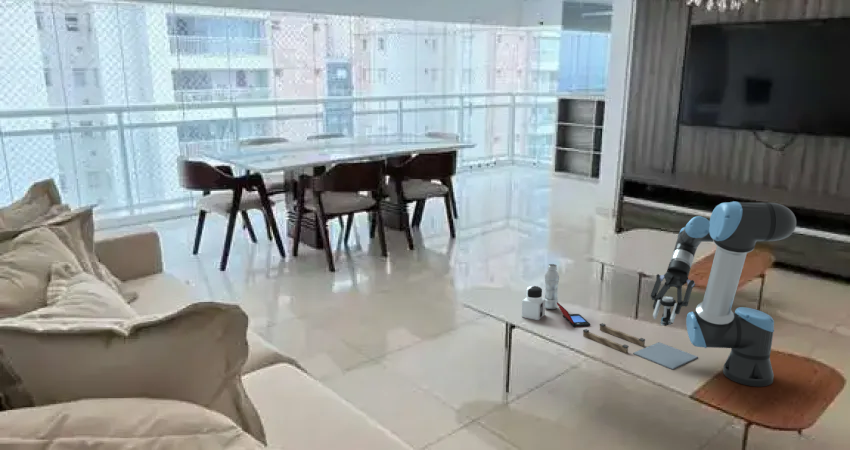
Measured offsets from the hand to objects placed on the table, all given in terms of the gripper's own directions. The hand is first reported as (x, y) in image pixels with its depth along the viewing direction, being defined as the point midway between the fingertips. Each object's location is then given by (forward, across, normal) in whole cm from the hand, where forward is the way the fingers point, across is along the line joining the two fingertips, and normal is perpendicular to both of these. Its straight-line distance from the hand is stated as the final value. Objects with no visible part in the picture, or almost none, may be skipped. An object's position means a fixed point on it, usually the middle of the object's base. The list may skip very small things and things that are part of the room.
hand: (663, 318), depth 218 cm
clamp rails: (+7, +20, -14) cm, 25 cm away
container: (+4, +57, -18) cm, 60 cm away
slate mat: (+8, -1, -14) cm, 16 cm away
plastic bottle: (-6, +55, -27) cm, 61 cm away
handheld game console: (+1, +41, -21) cm, 46 cm away
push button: (0, 0, -5) cm, 5 cm away
